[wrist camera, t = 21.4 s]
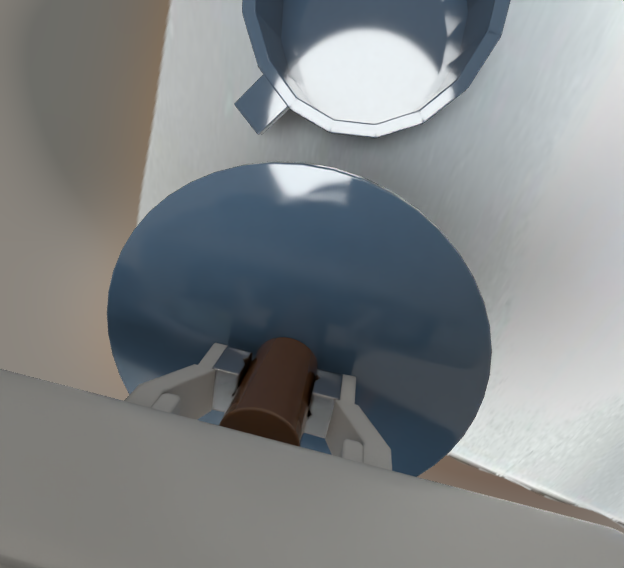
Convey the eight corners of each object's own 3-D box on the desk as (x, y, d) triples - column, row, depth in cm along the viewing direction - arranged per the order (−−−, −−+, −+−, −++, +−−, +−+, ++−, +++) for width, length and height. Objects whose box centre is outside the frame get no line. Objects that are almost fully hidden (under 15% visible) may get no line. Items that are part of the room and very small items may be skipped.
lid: (558, 392, 15) (649, 518, 10) (277, 518, 20) (247, 641, 15) (318, 55, 12) (280, 0, 7) (59, 310, 17) (-66, 381, 12)
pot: (555, 10, 25) (624, -35, 18) (325, 194, 32) (314, 210, 25) (436, -213, 22) (466, -364, 15) (209, 43, 29) (161, 15, 22)
